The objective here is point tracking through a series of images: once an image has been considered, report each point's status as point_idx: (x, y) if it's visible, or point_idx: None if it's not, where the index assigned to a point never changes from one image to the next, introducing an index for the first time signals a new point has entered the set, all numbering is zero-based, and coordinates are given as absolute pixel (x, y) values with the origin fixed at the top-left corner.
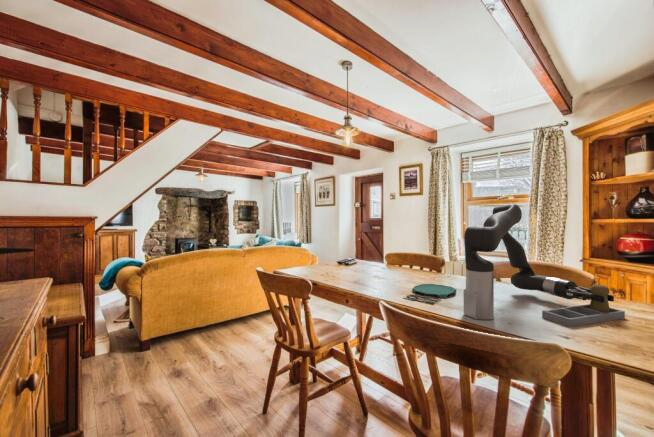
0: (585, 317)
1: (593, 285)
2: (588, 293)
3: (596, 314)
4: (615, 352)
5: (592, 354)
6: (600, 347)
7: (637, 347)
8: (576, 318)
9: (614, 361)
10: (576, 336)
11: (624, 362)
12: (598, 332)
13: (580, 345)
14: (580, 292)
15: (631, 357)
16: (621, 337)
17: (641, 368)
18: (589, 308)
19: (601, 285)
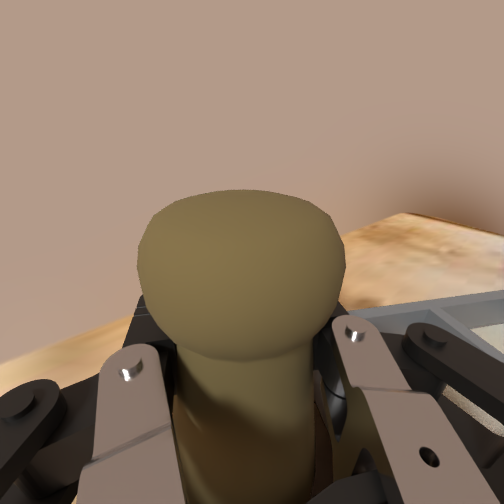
0: (449, 298)
1: (319, 219)
2: (376, 329)
3: (371, 316)
4: (424, 230)
5: (472, 230)
6: (446, 239)
7: (366, 235)
8: (499, 291)
9: (440, 221)
10: (495, 268)
11: (425, 219)
12: (415, 277)
13: (490, 245)
14: (491, 385)
15: (404, 223)
16: (365, 257)
17: (409, 213)
18: (303, 483)
19: (235, 193)
